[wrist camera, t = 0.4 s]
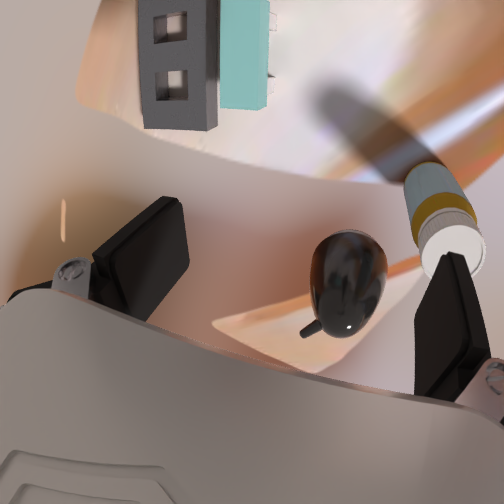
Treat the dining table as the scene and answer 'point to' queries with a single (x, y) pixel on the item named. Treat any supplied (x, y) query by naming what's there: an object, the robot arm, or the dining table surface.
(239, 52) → the clip
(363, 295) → the dark gray egg shape
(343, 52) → the dining table surface
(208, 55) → the grey block with holes
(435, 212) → the bottle
